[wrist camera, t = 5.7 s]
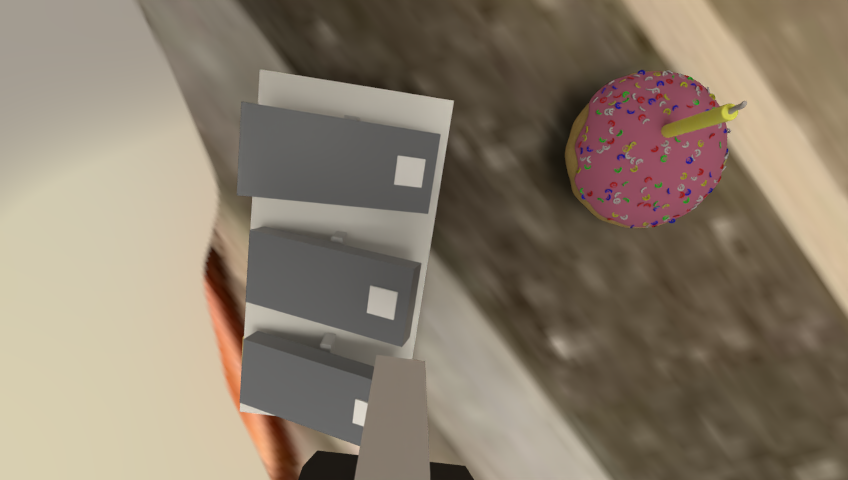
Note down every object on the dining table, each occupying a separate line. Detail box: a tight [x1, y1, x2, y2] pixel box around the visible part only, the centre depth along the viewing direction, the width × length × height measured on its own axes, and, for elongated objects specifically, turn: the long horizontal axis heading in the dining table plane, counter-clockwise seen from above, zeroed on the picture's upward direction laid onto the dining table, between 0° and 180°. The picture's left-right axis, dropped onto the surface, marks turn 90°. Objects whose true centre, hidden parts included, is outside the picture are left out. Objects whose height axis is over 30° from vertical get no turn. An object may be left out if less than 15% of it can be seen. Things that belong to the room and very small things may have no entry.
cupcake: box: [565, 70, 747, 228], centre depth 22 cm, size 9×8×12 cm
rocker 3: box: [240, 331, 374, 446], centre depth 23 cm, size 4×9×1 cm, turn 81°
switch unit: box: [240, 69, 454, 416], centre depth 26 cm, size 20×10×6 cm, turn 171°
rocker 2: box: [246, 226, 422, 347], centre depth 22 cm, size 4×9×1 cm, turn 81°
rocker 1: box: [237, 102, 441, 214], centre depth 20 cm, size 4×9×1 cm, turn 81°
